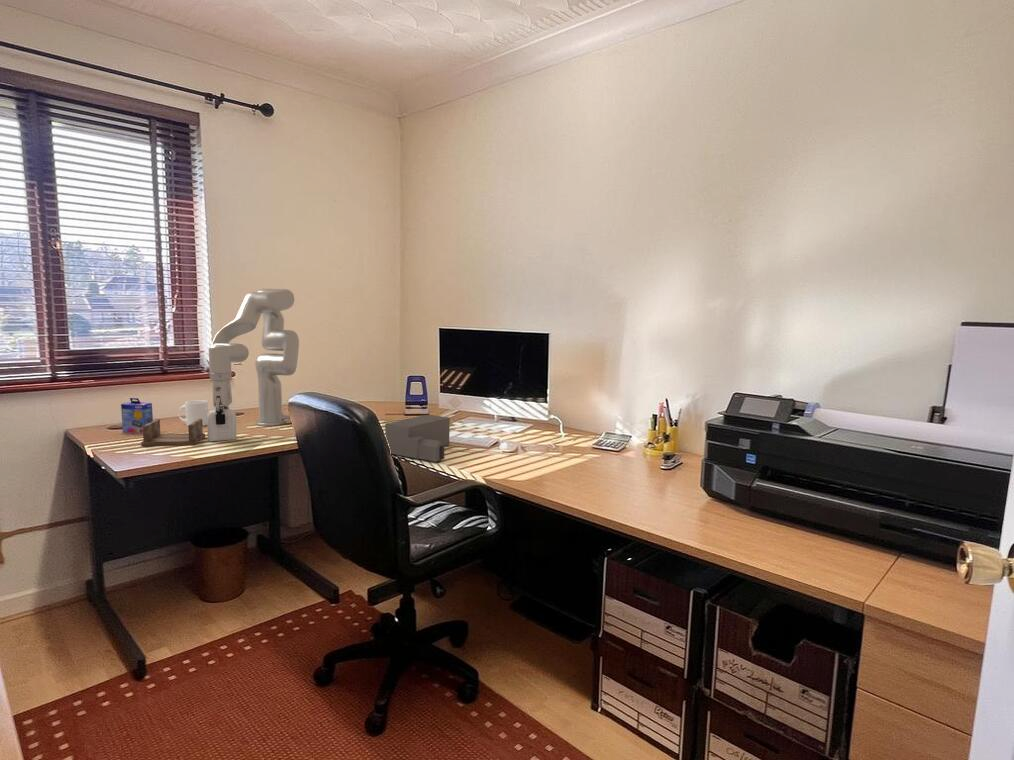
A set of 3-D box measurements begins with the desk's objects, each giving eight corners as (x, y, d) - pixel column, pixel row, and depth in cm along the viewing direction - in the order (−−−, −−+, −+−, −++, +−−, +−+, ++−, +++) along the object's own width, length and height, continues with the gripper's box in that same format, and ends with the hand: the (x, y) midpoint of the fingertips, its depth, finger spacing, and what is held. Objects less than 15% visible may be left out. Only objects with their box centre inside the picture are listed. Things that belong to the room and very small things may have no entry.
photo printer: (235, 437, 229) (234, 407, 228) (237, 439, 226) (236, 408, 225) (206, 440, 223) (205, 409, 222) (208, 442, 220) (207, 410, 218)
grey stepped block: (435, 462, 201) (435, 431, 200) (385, 452, 213) (385, 423, 212) (474, 448, 223) (475, 421, 221) (427, 440, 234) (427, 414, 233)
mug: (183, 423, 254) (182, 399, 253) (211, 424, 255) (211, 400, 254) (174, 427, 245) (173, 402, 244) (203, 427, 246) (202, 403, 245)
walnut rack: (154, 438, 225) (154, 419, 224) (205, 436, 229) (204, 418, 228) (141, 446, 211) (140, 426, 210) (194, 444, 216) (194, 425, 215)
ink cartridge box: (121, 433, 232) (119, 398, 230) (131, 430, 237) (129, 396, 235) (145, 434, 231) (143, 398, 229) (154, 431, 237) (152, 397, 235)
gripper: (226, 379, 214) (228, 427, 217) (236, 374, 231) (238, 417, 233) (204, 380, 212) (206, 427, 215) (215, 374, 229) (217, 418, 231)
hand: (222, 422), depth 224 cm, fingers open, 6 cm apart
